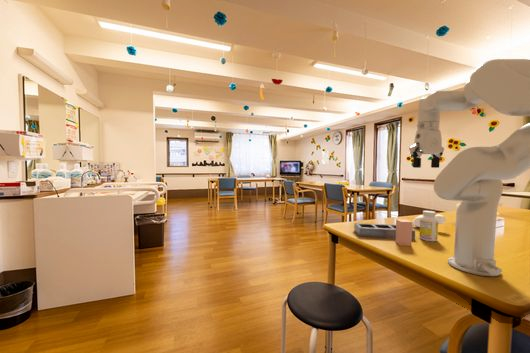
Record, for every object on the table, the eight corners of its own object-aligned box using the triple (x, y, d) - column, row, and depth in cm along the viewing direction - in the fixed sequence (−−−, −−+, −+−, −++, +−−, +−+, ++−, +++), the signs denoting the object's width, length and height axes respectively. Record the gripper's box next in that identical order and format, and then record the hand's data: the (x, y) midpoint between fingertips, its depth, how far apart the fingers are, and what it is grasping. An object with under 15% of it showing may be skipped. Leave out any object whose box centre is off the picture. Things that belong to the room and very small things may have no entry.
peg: (411, 245, 93) (412, 222, 93) (400, 245, 94) (400, 221, 94) (406, 242, 98) (407, 219, 97) (395, 241, 98) (396, 219, 98)
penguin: (413, 233, 121) (446, 229, 110) (407, 218, 123) (439, 212, 112) (419, 231, 126) (451, 226, 115) (413, 216, 128) (444, 210, 117)
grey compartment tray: (414, 239, 102) (415, 230, 102) (359, 236, 105) (359, 228, 105) (404, 232, 112) (404, 225, 111) (354, 230, 115) (354, 222, 115)
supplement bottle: (431, 237, 105) (432, 210, 104) (440, 242, 98) (442, 213, 98) (416, 236, 106) (417, 209, 105) (424, 241, 99) (425, 212, 98)
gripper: (419, 124, 89) (417, 167, 90) (453, 126, 93) (450, 167, 94) (403, 127, 96) (402, 167, 97) (435, 129, 100) (433, 167, 101)
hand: (426, 167), depth 96 cm, fingers open, 9 cm apart
